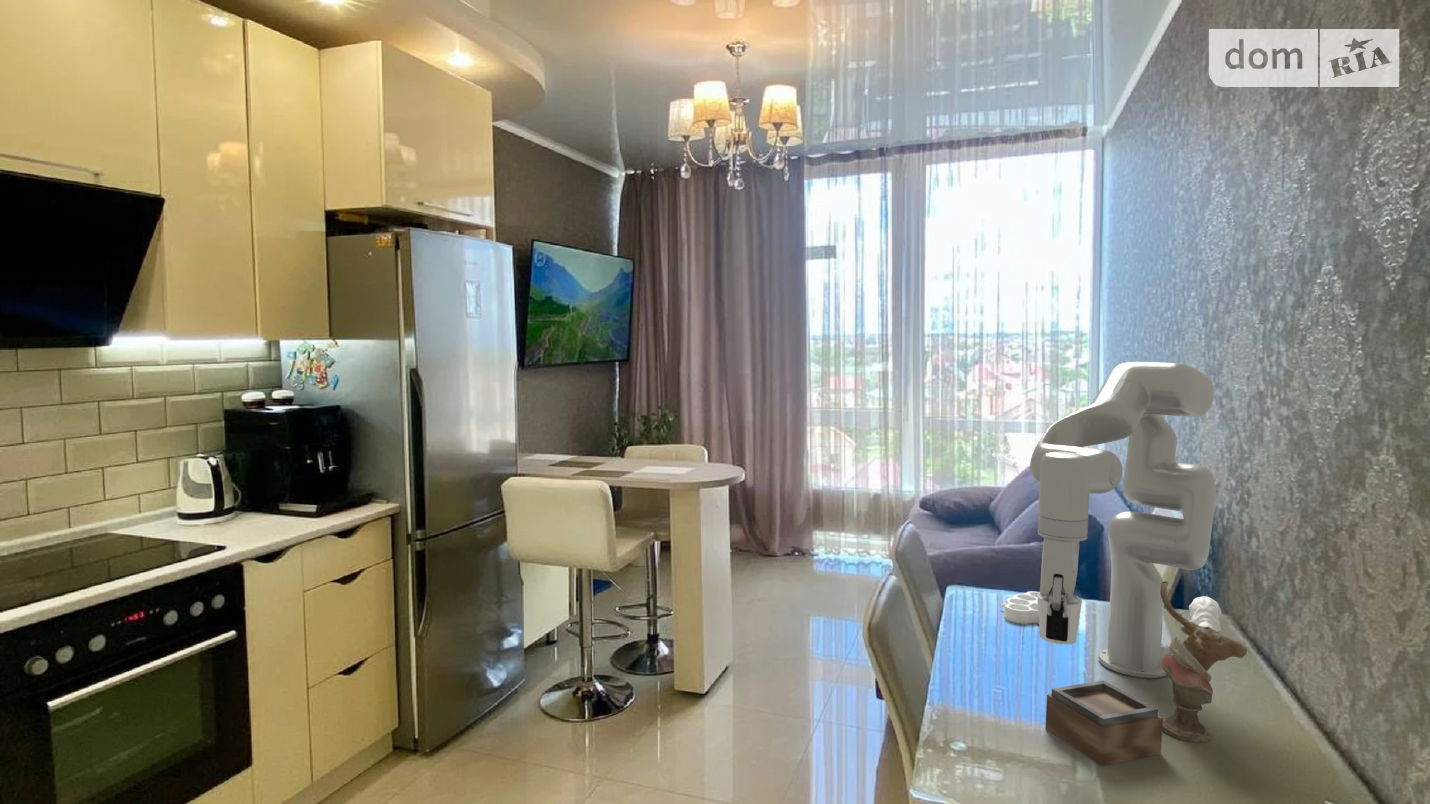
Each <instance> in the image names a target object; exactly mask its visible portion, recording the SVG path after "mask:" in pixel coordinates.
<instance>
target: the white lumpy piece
mask: <svg viewBox="0 0 1430 804" xmlns="http://www.w3.org/2000/svg"><path fill="white" fill-rule="evenodd" d="M1188 610H1189V615H1190V617H1191V619H1190V620H1189V621H1190V622H1193V623H1195V624H1197V625H1199V626H1203V627H1210V628H1212V629H1214V630H1215V631H1216V632H1218V633H1220V632H1221V630H1222V629H1221V627H1222V625H1221V623H1220V621H1219V620H1220V617H1221V615H1222V610H1221V607H1220V605H1219V603H1218V602H1217V601H1216V600H1214V599H1213V598H1211V597H1209V596H1204V595H1203V596H1198V597H1195V598H1194V599H1193V600H1192V602H1191V603H1190V604H1189V606H1188Z"/></svg>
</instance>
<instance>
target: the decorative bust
mask: <svg viewBox="0 0 1430 804" xmlns="http://www.w3.org/2000/svg"><path fill="white" fill-rule="evenodd" d="M1168 584H1169V582H1168V581H1163V582H1162V584H1161V590H1160V595H1161V598H1162V601H1163V603H1164V605H1163V606H1164V608H1165V609H1166V611H1167V612H1168V614H1169V615H1170V616H1171V617H1173V618H1174V619H1175V621H1177V622H1179V624H1180V625H1182V626H1181V627H1180V629H1181V631H1182V633H1184V634H1186V635H1187V636H1188V637H1186V638H1185V639H1184V640H1183V642H1182V641H1181V640H1180V639H1179V638H1178V636H1174V637H1173V638H1172V639H1171V641H1170V643H1169V645H1170V649H1171V650H1172V653H1173V655H1166V656H1164V658H1163V659H1162V661H1161V667H1162V669H1163V670H1164V671H1165V672H1166V674H1167V675H1166V676H1168V677H1169V679H1170V681H1171V683H1172V698H1171V702H1172V703H1173V705H1174V706H1175V707H1176V708H1175V711H1174V713H1173V714H1172V715H1169V716H1165V717H1163V724H1162V732H1164V733H1166V734H1167V735H1169V736H1170V737H1173V738H1175V739H1178V740H1181V741H1184V742H1191V743H1206V742H1208V741H1209V740H1211V735H1210V732H1209V730H1208V728H1206V726H1205V725H1204V724H1202V723H1201V722H1200V721H1199V716H1198V713H1199V712H1201V711H1202V710H1203V706H1202V705H1206V704H1207V705H1208V704H1211V703H1212V699H1213V693H1214V691H1213V688H1212V685H1211V681H1212V675H1211V674H1210V673H1209V669H1210V668H1211V667H1212V666H1213V665H1214V664H1215V663H1216V662H1218V661H1220V662H1221V661H1225V660H1227V659H1229V658H1231V657H1232V658H1237V659H1238V658H1239V659H1242V658H1244V657H1245V656H1246V655H1247V654H1248V653H1247V651H1248V650H1247V647H1246V646H1245V644H1244V643H1242V642H1241V641H1239V640H1236V639H1234V638H1229V637H1228V636H1226V635H1223V634H1221V633H1220V632H1216V631H1215V630H1214V629H1212V628H1210V627H1203V626H1199V625H1197V624H1195V623H1193V622H1190V620H1189V619H1187V618H1185V617H1184V616H1183V613H1180V612H1177V611H1176V609H1175V608H1174V607H1173V605H1172V604H1171V597H1172V595H1173V593H1174V588H1172V587H1171V588H1169V589H1168Z"/></svg>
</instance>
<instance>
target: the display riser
mask: <svg viewBox="0 0 1430 804" xmlns="http://www.w3.org/2000/svg"><path fill="white" fill-rule="evenodd" d="M1045 708H1046V709H1045V710H1046V711H1045V730H1047V732H1050V733H1051V734H1052V735H1054V736H1056V737H1057V738H1059V739H1060V740H1061V741H1063V742H1064V743H1066V744H1068V745H1069V746H1071V747H1072V748H1074V749H1075V750H1077V751H1078V752H1079V753H1081V754H1083V755H1084V756H1086V757H1087V758H1089V759H1090V760H1091V761H1093V762H1095V763H1096V764H1098V765H1099V766H1102V767H1104V766H1106V765H1107V766H1108V765H1112V764H1118V763H1122V762H1127V761H1132V760H1136V759H1143V758H1147V757H1153V756H1158V755H1161V754H1162V741H1163V739H1162V738H1163V729H1162V724H1163V718H1164V717H1162V716H1161V715H1159V709H1158V708H1156V707H1154V706H1153V705H1151V704H1149V703H1147V702H1145V701H1143V700H1142V699H1139V698H1137V697H1136V696H1134V695H1132V694H1130V693H1127V692H1126V691H1125V690H1123V689H1121V688H1119V687H1117V686H1115V685H1113V684H1111V683H1109V682H1108V681H1105V680H1099V681H1098V680H1097V681H1093V682H1085V683H1080V684H1072V685H1067V686H1059V687H1053V688H1051V693H1048V694H1047V695H1046V707H1045Z"/></svg>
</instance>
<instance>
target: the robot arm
mask: <svg viewBox="0 0 1430 804" xmlns="http://www.w3.org/2000/svg"><path fill="white" fill-rule="evenodd" d="M1214 394H1215V391H1214V386H1213V383H1212V380H1211V379H1210V378H1209V377H1208V375H1206V374H1205V373H1204V372H1202V371H1201V370H1198V369H1196V368H1195V367H1192V366H1190V365H1187V364H1183V363H1179V362H1161V361H1159V362H1157V361H1156V362H1154V361H1153V362H1152V361H1129V362H1124V363H1120V364H1118V365H1117V366H1115V367H1114V368H1112V370H1111V371H1110V373H1109V374H1108V376H1107V377H1106V379H1104V382H1103V384H1102V385H1101V387H1100V388H1099V390H1098V392H1097V394H1096V396H1095V398H1094V399H1093V400H1092V402H1091V404H1090V405H1089V406H1087V407H1084V408H1081V409H1079V410H1077V411H1075V412H1073V413H1070V414H1069V415H1067V416H1065V417H1063V418H1061V419H1058V420H1057V421H1055V422H1054V423H1053V424H1050V426H1049V427H1047V429H1046V430H1045V432H1044V433H1043V435H1042V436H1041V438H1040V439H1039V441H1038V443H1036V445H1035V448H1034V450H1033V452H1032V454H1031V458H1030V462H1029V463H1030V464H1029V469H1030V474H1031V476H1032V479H1033V480H1034V481H1035V482H1037V483H1038V484H1039V492H1038V494H1039V497H1038V519H1037V520H1038V521H1037V525H1038V526H1037V534H1038V535H1039V536H1041V537H1042V538H1043V545H1042V554H1041V555H1042V557H1041V569H1040V572H1041V573H1040V585H1039V586H1040V587H1039V592H1040V595H1041V596H1042V597H1044V596H1047V595H1048V593H1049V605H1048V614H1047V621H1046V638H1048V639H1053V640H1058V641H1064V642H1066V641H1067V639H1068V617H1067V602H1068V601H1069V600H1071V599H1072V596H1073V595H1074V592H1075V588H1076V583H1077V578H1078V567H1079V554H1080V553H1079V551H1080V542H1082V541H1083V542H1084V541H1086V540H1087V539H1088V538H1089V537H1088V534H1089V532H1088V531H1089V510H1090V509H1089V508H1090V506H1089V505H1090V494H1092V495H1093V494H1099V495H1100V494H1101V495H1102V494H1106V493H1108V492H1112V491H1113V490H1114V489H1115V488H1116V487H1117V486H1118V485H1119V484H1120V483H1121V482H1120V481H1121V480H1122V477H1123V486H1122V488H1123V491H1122V492H1123V496H1124V498H1125V499H1126V500H1127V501H1128V502H1129V503H1132V504H1135V505H1138V506H1143V507H1150V508H1156V509H1162V510H1169V511H1174V512H1175V511H1176V512H1179V513H1181V514H1182V517H1183V518H1180V517H1173V516H1172V517H1171V516H1166V515H1160V514H1155V513H1154V514H1153V513H1147V512H1143V511H1141V512H1140V511H1122V512H1119V513H1117V514H1115V515H1114V516H1113V517H1112V518H1111V519H1110V521H1109V524H1108V529H1107V536H1108V538H1107V539H1108V544H1109V545H1108V546H1109V551H1110V564H1111V565H1110V571H1111V573H1110V593H1109V594H1110V595H1109V612H1108V614H1109V615H1108V629H1107V630H1108V631H1107V632H1108V633H1107V648H1106V649H1102V650H1101V651H1099V652H1098V661H1099V663H1100V664H1101V665H1102V666H1104V667H1106V668H1107V669H1109V670H1111V671H1114V672H1116V673H1119V674H1122V675H1126V676H1131V677H1135V678H1136V677H1137V678H1143V679H1157V678H1158V679H1159V678H1164V677H1166V676H1168V675H1167V674H1166V672H1165V671H1164V670H1163V669H1162V667H1161V661H1162V659H1163V658H1164V656H1166V655H1173V653H1172V650H1171V649H1170V644H1167V645H1164V644H1163V645H1162V640H1163V639H1162V638H1163V637H1162V636H1163V621H1164V620H1163V618H1164V606H1165V605H1164V603H1163V601H1162V598H1161V595H1160V590H1161V584H1162V582H1164V580H1163V577H1162V575H1161V574H1160V572H1159V570H1158V569H1157V567H1156V566H1155V564H1156V565H1157V564H1158V565H1161V566H1167V567H1172V568H1177V569H1183V570H1188V571H1189V570H1192V571H1195V570H1199V569H1202V567H1204V566H1205V565H1206V562H1207V560H1208V558H1209V553H1210V546H1211V539H1212V529H1213V521H1214V514H1215V504H1216V493H1217V490H1216V489H1217V488H1216V486H1217V485H1216V480H1215V477H1214V474H1213V472H1212V471H1210V469H1208V468H1207V467H1205V466H1202V465H1199V464H1193V463H1183V462H1177V461H1176V449H1177V444H1178V443H1177V442H1178V440H1177V439H1178V438H1177V435H1176V433H1175V431H1174V430H1173V428H1172V426H1171V425H1170V424H1169V422H1168V421H1167V420H1166V419H1165V417H1164V416H1177V417H1187V418H1190V417H1191V418H1197V417H1198V418H1199V417H1202V416H1204V415H1206V413H1208V412H1209V410H1210V409H1211V407H1212V405H1213V403H1214V402H1213V401H1214V397H1215V395H1214ZM1126 438H1128V443H1127V451H1126V457H1125V458H1126V461H1125V468H1124V473H1123V465H1122V462H1121V460H1120V458H1119V457H1118V456H1117V455H1116V454H1115V453H1114V452H1111V451H1109V450H1106V449H1099V448H1093V447H1091V446H1096V445H1103V444H1108V443H1112V442H1116V441H1119V440H1124V439H1126ZM1052 593H1053V596H1052ZM1061 594H1063V595H1065V598H1062V597H1061ZM1061 602H1064V604H1061Z"/></svg>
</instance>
